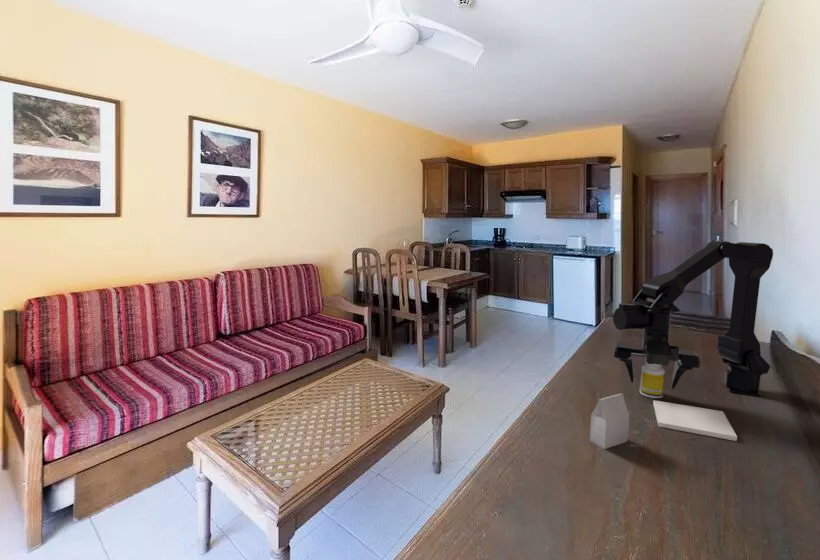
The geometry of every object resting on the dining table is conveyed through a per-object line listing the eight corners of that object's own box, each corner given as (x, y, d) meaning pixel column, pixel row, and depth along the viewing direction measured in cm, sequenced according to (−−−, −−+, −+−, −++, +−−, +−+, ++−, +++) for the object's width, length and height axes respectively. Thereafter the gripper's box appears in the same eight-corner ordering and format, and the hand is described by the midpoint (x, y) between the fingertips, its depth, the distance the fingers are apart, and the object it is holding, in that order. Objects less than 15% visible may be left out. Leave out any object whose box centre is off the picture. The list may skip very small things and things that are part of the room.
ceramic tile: (722, 415, 93) (722, 411, 93) (736, 441, 82) (737, 436, 82) (653, 403, 99) (653, 400, 99) (658, 426, 88) (658, 422, 88)
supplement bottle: (666, 399, 101) (669, 363, 100) (643, 398, 102) (646, 362, 101) (658, 390, 106) (660, 356, 105) (636, 389, 107) (638, 355, 106)
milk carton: (627, 441, 83) (630, 397, 81) (604, 449, 80) (607, 403, 79) (612, 433, 86) (615, 390, 85) (589, 440, 84) (592, 396, 82)
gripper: (616, 332, 99) (612, 390, 101) (707, 341, 90) (701, 405, 93) (615, 321, 108) (612, 375, 111) (698, 329, 100) (692, 386, 102)
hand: (651, 385), depth 104 cm, fingers open, 9 cm apart
